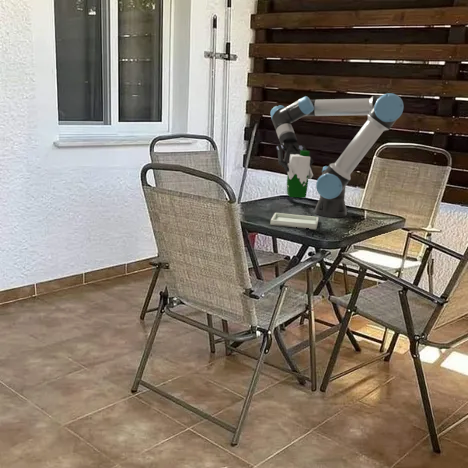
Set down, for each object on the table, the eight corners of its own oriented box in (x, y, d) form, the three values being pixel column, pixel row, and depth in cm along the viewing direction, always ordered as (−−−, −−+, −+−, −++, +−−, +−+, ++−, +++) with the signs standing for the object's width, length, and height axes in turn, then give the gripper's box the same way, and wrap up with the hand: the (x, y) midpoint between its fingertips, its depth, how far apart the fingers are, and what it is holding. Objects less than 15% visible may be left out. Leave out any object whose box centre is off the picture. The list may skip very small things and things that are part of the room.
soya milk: (308, 198, 266) (312, 152, 261) (287, 197, 265) (291, 151, 260) (304, 194, 274) (308, 149, 269) (284, 193, 273) (288, 148, 268)
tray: (318, 221, 279) (318, 216, 278) (316, 229, 263) (316, 224, 263) (274, 217, 282) (275, 212, 281) (270, 224, 266) (270, 220, 266)
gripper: (304, 141, 282) (319, 181, 272) (262, 141, 273) (276, 182, 263) (311, 131, 276) (326, 172, 266) (268, 130, 267) (283, 172, 257)
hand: (301, 177), depth 265 cm, fingers closed on soya milk, 9 cm apart
